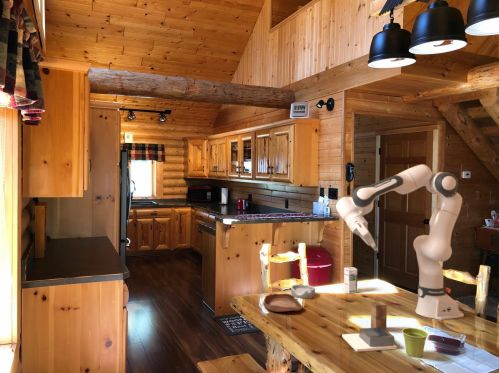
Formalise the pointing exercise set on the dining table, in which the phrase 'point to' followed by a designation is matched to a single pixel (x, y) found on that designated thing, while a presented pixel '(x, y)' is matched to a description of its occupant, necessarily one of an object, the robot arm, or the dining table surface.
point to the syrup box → (350, 280)
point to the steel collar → (376, 336)
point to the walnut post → (378, 314)
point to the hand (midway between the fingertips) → (375, 247)
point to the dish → (303, 291)
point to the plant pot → (414, 341)
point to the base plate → (363, 343)
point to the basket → (281, 303)
